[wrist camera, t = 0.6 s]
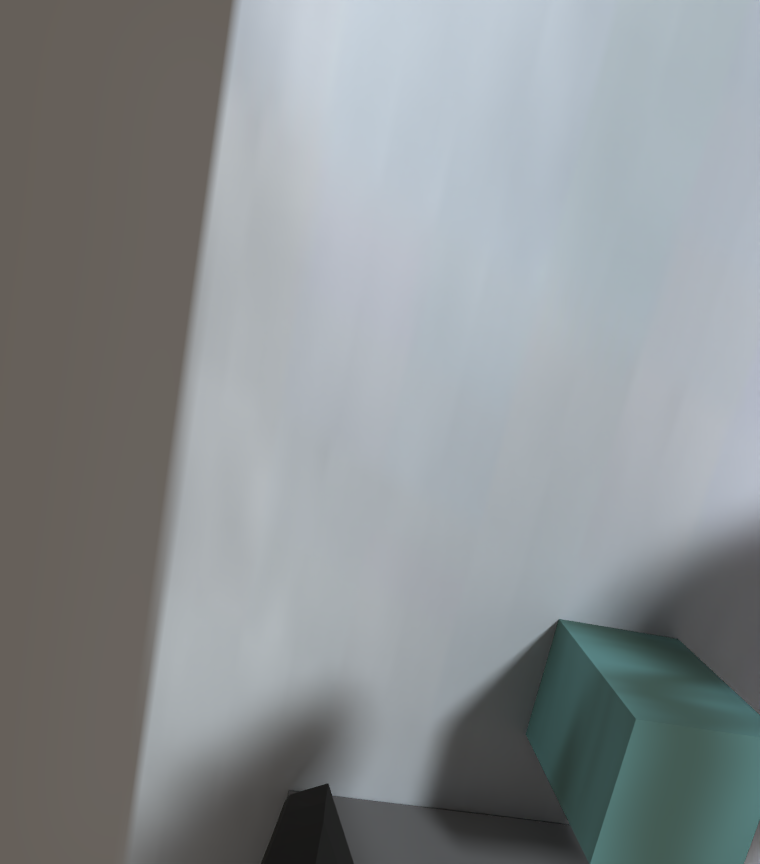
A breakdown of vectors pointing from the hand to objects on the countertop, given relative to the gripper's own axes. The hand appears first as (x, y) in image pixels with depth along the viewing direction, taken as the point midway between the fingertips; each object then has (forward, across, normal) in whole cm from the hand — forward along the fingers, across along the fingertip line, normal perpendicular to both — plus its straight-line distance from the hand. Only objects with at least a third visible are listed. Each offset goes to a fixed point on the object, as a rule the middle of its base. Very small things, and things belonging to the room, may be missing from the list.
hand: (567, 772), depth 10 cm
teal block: (+10, -4, +6) cm, 12 cm away
